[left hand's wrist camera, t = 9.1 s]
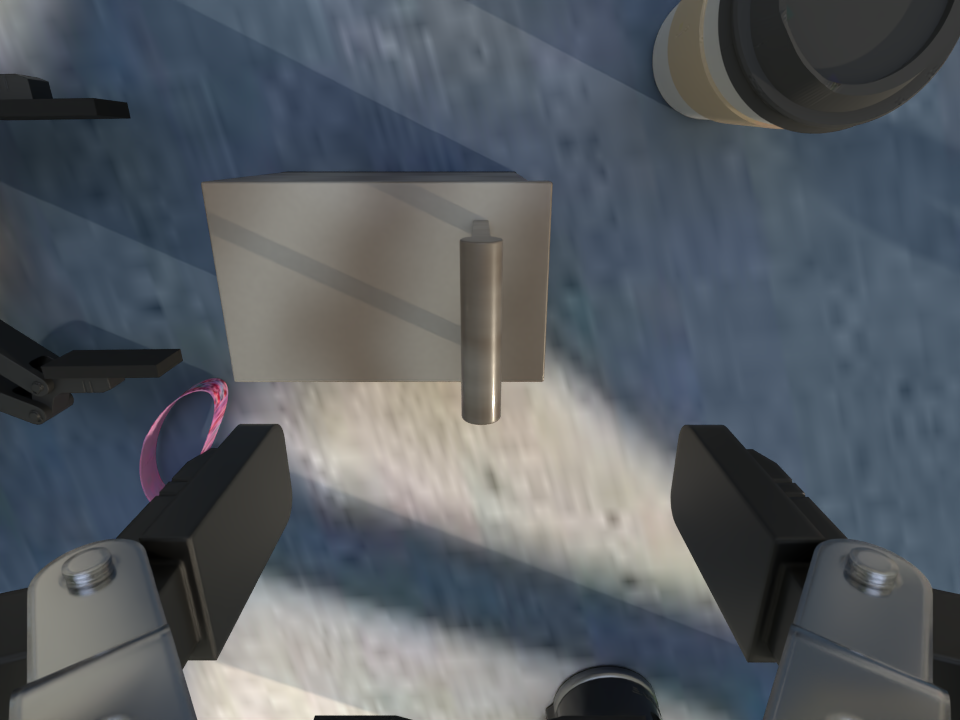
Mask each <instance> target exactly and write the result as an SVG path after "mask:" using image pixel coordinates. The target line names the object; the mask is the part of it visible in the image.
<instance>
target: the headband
mask: <svg viewBox="0 0 960 720" xmlns="http://www.w3.org/2000/svg"><path fill="white" fill-rule="evenodd" d="M196 391H205V392H208V393H210V394H211V395H212V397H213V399H214V405H215V408H214V416H213V420H212V424H211V427H210V430H209V433H208V436H207V439H206V442H205V444H204V447H203V449H202V452H201V454H202V453H204V452H205V451H207V450H209V449H210V448H211V445H212V443H213V441H214V439H215V436H216V434H217V431H218V429H219V426H220V424H221V421H222V418H223V415H224V412H225V409H226V405H227V400H228V388H227V385H226V383H225V382H224V381H223V380H221V379H218V378H212V379H207V380H204V381H202V382H200V383H198V384H196V385H194V386H193V387H191V388H190V389H189V390H187V391H186V392H185V393H184V394H182V395H181V396H180V397H179V398H181V397H183V396H185V395H187V394H189V393H192V392H196ZM179 398H177V399H176V400H175V401H174V402H173V403H171V404H170V405H169V406H168V407H167V408H166V409H165V410H164V411H163V412H162V413H161V414H160V415H159V417H158V418H157V419H156V421H155V422H154V424H153V425H152V427H151V429H150V430H149V432H148V434H147V435H146V437H145V440H144V443H143V448H142V452H141V457H140V479H141V484H142V488H143V490H144V493H145V495H146V497H147V498H148V500H149V501H151V500H152V499H153V498H154V497H155V496H159V492H160V491H161V490H162V489H163V488H164V486H165V484H164V483H163V481H162V480H161V478H160V475H159V473H158V469H157V464H156V445H157V439H158V435H159V431H160V429H161V426H162V424H163V421H164V419H165V417H166V416H167V414H168V412H169V411H170V409H171V408H172V406H173V405H174V404H175V403H176V402H177V400H178V399H179Z"/></svg>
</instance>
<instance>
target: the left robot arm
mask: <svg viewBox="0 0 960 720" xmlns="http://www.w3.org/2000/svg"><path fill="white" fill-rule="evenodd" d="M291 507H292V488H291V481H290V473H289V466H288V459H287V452H286V445H285V438H284V433H283V430H282V428H281V426H280V425H279V424H240V425H238V426H237V427H236V428H235V429H234V430H233V431H232V432H231V433H230V435H229V436H228V437H227V438H226V439H225V440H224V441H223V443H222V444H221V445H220V446H219V447H218V448H211V449H209V450H207V451H205V452H204V453H202V454H200V455H199V456H197V457H195V458H194V459H192V460H190V461H188V462H187V463H186V464H185V465H184V466H183V467H182V468H181V469H180V470H179V472H178V473H177V474H176V475H175V476H174V477H173V478H172V482H168V483H167V484H166V485H165V486H164V488H163V489H162V490H161V491H160V492H159V496H155V497H154V498H153V499H152V500H151V501H150V502H149V504H148V505H147V506H146V507H145V508H144V509H143V510H142V511H141V512H140V513H139V514H138V515H137V516H136V517H135V518H134V520H133V521H132V522H131V523H130V524H129V525H128V526H127V527H126V528H125V529H124V530H123V531H122V532H121V533H120V534H119V536H118V537H117V538H116V539H108V540H102V541H97V542H93V543H90V544H87V545H84V546H81V547H78V548H76V549H74V550H71V551H69V552H67V553H65V554H63V555H62V556H60V557H58V558H56V559H55V560H53V561H52V562H50V563H49V564H48V565H46V566H45V567H44V568H43V569H42V570H41V571H40V572H39V573H38V574H37V575H36V576H35V577H34V578H33V580H32V581H31V583H30V585H29V587H28V588H24V589H20V590H15V591H10V592H5V593H1V594H0V720H197V717H196V714H195V711H194V707H193V704H192V701H191V697H190V694H189V690H188V687H187V684H186V680H185V677H184V674H183V668H184V666H185V664H186V663H187V661H188V660H217V658H218V657H219V655H220V653H221V651H222V649H223V647H224V645H225V643H226V641H227V639H228V637H229V635H230V633H231V631H232V629H233V627H234V626H235V624H236V622H237V620H238V618H239V616H240V614H241V612H242V610H243V608H244V606H245V604H246V602H247V600H248V598H249V596H250V595H251V593H252V591H253V589H254V587H255V585H256V583H257V581H258V579H259V577H260V575H261V573H262V571H263V569H264V567H265V566H266V564H267V562H268V560H269V558H270V556H271V554H272V552H273V550H274V548H275V546H276V544H277V542H278V540H279V538H280V536H281V535H282V533H283V531H284V529H285V527H286V525H287V523H288V520H289V517H290V513H291ZM671 509H672V515H673V519H674V521H675V524H676V526H677V528H678V530H679V532H680V534H681V536H682V537H683V539H684V541H685V543H686V545H687V547H688V549H689V551H690V553H691V555H692V557H693V559H694V560H695V562H696V564H697V566H698V568H699V570H700V572H701V574H702V576H703V578H704V580H705V582H706V583H707V585H708V587H709V589H710V591H711V593H712V595H713V597H714V599H715V601H716V603H717V604H718V606H719V608H720V610H721V612H722V614H723V616H724V618H725V620H726V622H727V624H728V626H729V627H730V629H731V631H732V633H733V635H734V637H735V639H736V641H737V643H738V645H739V647H740V648H741V650H742V652H743V654H744V656H745V658H746V660H747V662H777V664H778V665H779V667H778V670H777V674H776V677H775V680H774V684H773V687H772V690H771V694H770V697H769V701H768V704H767V707H766V711H765V714H764V717H763V720H960V594H955V593H951V592H946V591H941V590H937V589H933V588H932V587H931V585H930V583H929V581H928V580H927V578H926V577H925V576H924V575H923V574H922V573H921V572H920V571H919V570H918V569H917V568H916V567H915V566H914V565H912V564H911V563H910V562H908V561H907V560H905V559H904V558H902V557H900V556H898V555H897V554H895V553H893V552H891V551H889V550H886V549H884V548H882V547H879V546H876V545H873V544H870V543H867V542H863V541H858V540H852V539H848V538H847V537H846V536H845V535H844V534H843V533H842V532H841V531H840V530H839V529H838V528H837V527H836V526H835V525H834V524H833V523H832V522H831V520H830V519H829V518H828V517H827V516H826V515H825V514H824V513H823V512H822V511H821V510H820V509H819V508H818V507H817V506H816V505H815V504H814V502H813V501H812V500H811V499H810V498H809V497H805V493H804V492H803V491H802V490H801V489H800V488H799V487H798V486H797V485H796V483H792V479H791V478H790V477H789V476H788V475H787V474H786V473H785V472H784V471H783V470H782V469H781V468H780V467H779V465H778V464H777V463H775V462H773V461H772V460H770V459H768V458H767V457H765V456H763V455H761V454H760V453H758V452H756V451H755V450H753V449H745V447H744V446H743V445H742V444H741V443H740V442H739V441H738V440H737V438H736V437H735V436H734V435H733V434H732V433H731V432H730V431H729V429H728V428H727V427H726V426H724V425H684V426H683V427H682V429H681V431H680V434H679V439H678V446H677V453H676V460H675V467H674V474H673V481H672V488H671ZM546 717H547V720H662V718H661V714H660V710H659V707H658V702H657V699H656V696H655V693H654V690H653V688H652V686H651V685H650V684H649V682H648V681H647V680H646V679H645V678H643V677H642V676H641V675H639V674H637V673H635V672H633V671H631V670H628V669H624V668H619V667H598V668H593V669H589V670H585V671H583V672H580V673H578V674H576V675H574V676H573V677H571V678H570V679H568V680H567V681H566V682H565V683H564V684H563V685H562V686H561V687H560V688H559V690H558V692H557V693H556V696H555V698H554V704H552V705H551V706H550V707H548V708H547V709H546ZM314 720H411V719H407V718H403V717H400V716H315V717H314Z"/></svg>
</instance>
